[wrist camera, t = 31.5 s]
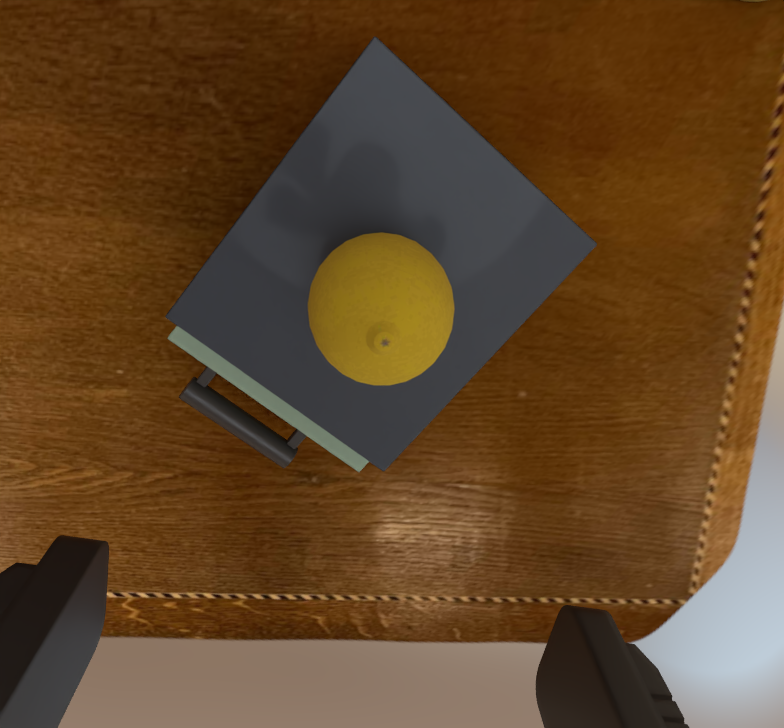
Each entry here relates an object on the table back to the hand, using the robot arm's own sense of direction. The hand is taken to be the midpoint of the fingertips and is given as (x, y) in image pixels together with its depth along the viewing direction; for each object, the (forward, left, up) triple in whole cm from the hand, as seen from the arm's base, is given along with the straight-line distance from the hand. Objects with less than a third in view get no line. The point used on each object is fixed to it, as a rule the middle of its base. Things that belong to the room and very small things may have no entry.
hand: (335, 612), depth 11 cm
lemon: (+1, +1, -19) cm, 19 cm away
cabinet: (+1, +2, -28) cm, 28 cm away
